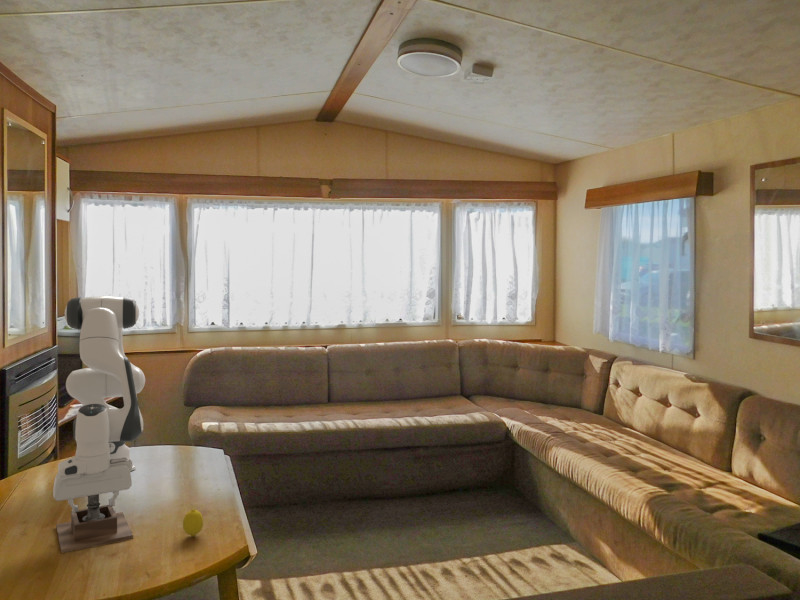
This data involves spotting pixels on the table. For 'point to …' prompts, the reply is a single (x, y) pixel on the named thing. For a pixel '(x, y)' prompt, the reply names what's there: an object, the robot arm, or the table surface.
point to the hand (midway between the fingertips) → (93, 509)
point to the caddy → (93, 530)
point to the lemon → (193, 522)
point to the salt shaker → (93, 509)
